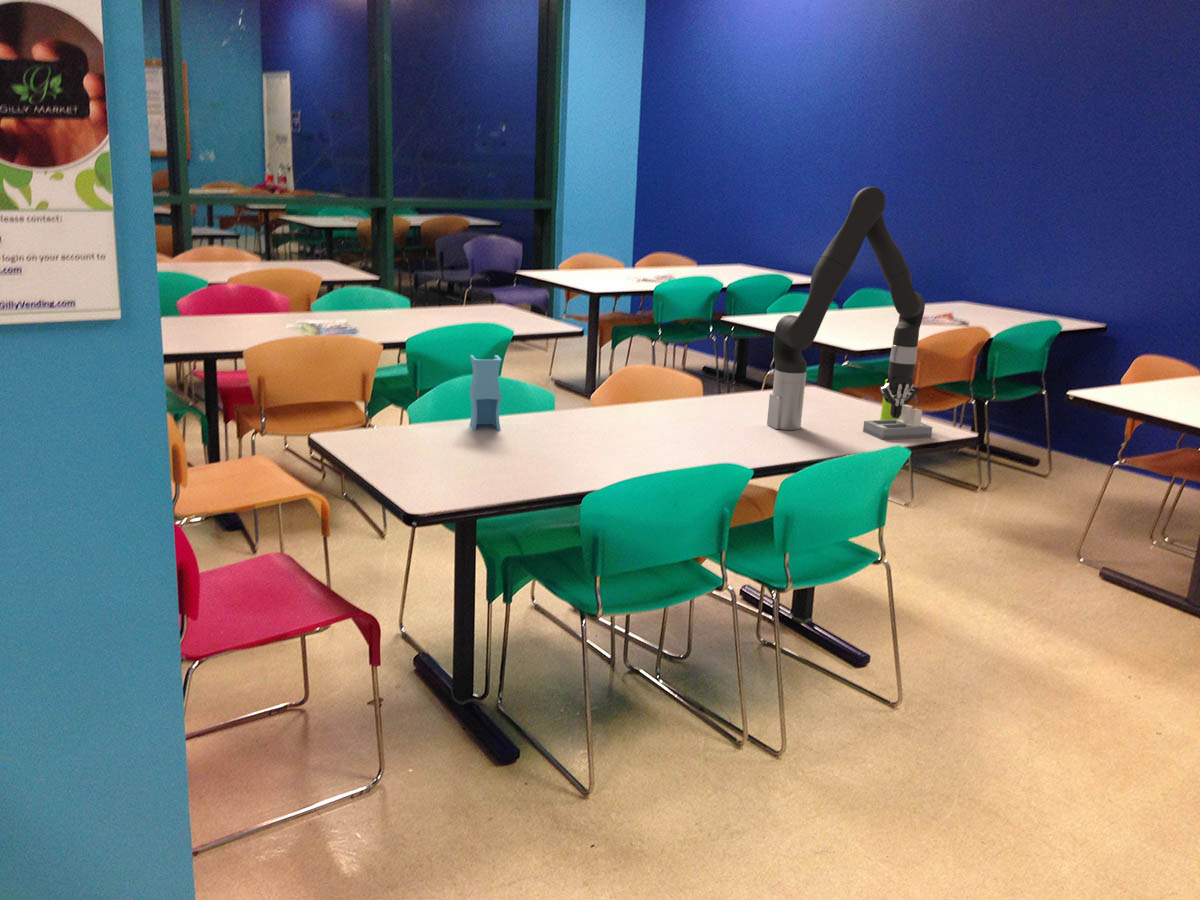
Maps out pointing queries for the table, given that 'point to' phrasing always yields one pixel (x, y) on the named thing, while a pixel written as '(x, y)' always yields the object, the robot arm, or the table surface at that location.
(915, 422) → the tab
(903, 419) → the tab
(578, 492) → the table surface
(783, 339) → the robot arm
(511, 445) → the table surface
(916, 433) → the switch bank
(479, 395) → the notched blue pillar
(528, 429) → the table surface
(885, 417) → the soap dispenser
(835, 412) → the table surface
